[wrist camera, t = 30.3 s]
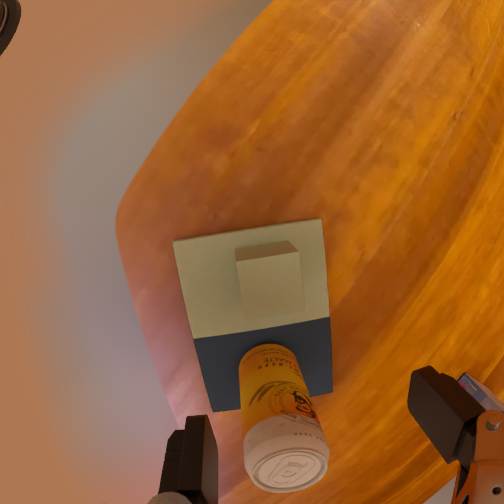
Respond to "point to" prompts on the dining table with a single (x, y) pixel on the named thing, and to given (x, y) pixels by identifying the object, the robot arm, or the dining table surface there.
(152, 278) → the dining table surface
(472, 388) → the ink cartridge box
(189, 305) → the sorting mat
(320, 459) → the beer can
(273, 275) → the sage cube
